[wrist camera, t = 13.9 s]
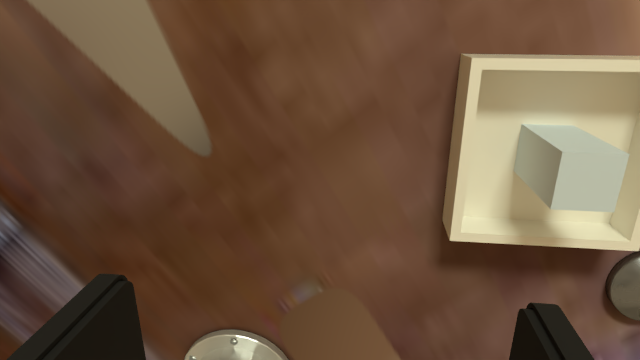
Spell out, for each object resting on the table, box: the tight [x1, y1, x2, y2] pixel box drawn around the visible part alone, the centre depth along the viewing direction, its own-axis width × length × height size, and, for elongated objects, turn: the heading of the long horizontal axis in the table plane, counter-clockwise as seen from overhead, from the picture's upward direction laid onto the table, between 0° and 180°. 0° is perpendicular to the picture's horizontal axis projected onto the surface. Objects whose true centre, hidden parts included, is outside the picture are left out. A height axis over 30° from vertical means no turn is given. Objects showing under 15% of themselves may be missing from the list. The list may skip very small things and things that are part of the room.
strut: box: [514, 124, 630, 212], centre depth 32 cm, size 4×4×8 cm
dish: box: [442, 54, 640, 251], centre depth 34 cm, size 15×15×4 cm
